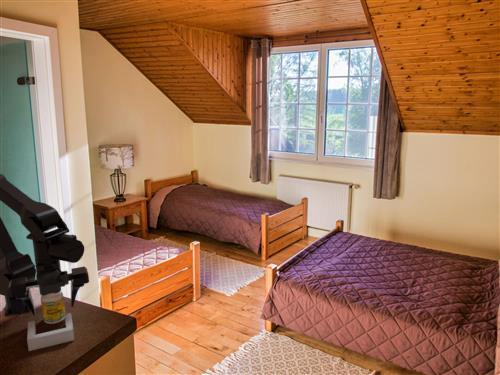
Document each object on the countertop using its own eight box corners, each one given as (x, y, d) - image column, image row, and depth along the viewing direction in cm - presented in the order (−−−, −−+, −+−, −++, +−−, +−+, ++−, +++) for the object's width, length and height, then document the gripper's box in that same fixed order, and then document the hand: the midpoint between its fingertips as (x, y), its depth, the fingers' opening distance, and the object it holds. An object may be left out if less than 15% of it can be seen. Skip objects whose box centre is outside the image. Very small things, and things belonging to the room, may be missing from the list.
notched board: (29, 332, 106) (28, 322, 106) (72, 323, 111) (70, 312, 110) (28, 351, 99) (27, 339, 98) (74, 340, 103) (73, 329, 102)
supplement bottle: (63, 311, 116) (60, 280, 114) (67, 320, 112) (63, 287, 110) (42, 317, 113) (38, 285, 111) (45, 326, 109) (41, 293, 107)
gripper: (3, 275, 97) (12, 334, 101) (88, 260, 105) (94, 316, 109) (6, 258, 107) (14, 313, 111) (84, 246, 115) (89, 297, 119)
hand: (53, 310), depth 112 cm, fingers open, 9 cm apart
